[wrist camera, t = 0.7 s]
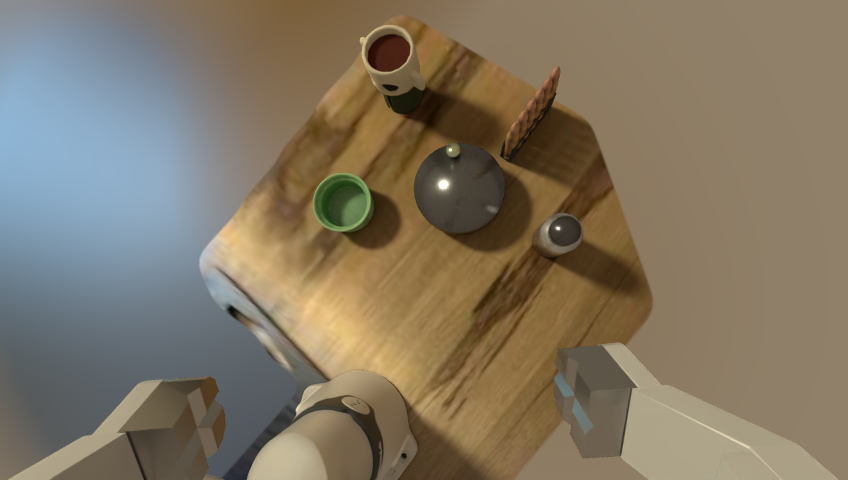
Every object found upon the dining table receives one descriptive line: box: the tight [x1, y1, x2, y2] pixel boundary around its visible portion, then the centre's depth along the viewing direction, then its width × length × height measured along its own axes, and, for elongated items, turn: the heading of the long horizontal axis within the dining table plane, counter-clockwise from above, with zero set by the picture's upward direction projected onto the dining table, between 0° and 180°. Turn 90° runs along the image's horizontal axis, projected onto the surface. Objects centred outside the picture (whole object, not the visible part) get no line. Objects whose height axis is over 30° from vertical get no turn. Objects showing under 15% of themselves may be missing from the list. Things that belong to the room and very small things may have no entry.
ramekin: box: [313, 173, 374, 232], centre depth 62 cm, size 9×9×4 cm
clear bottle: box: [532, 213, 583, 258], centre depth 54 cm, size 5×5×11 cm
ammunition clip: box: [500, 67, 560, 162], centre depth 56 cm, size 11×2×12 cm, turn 143°
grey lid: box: [414, 143, 505, 234], centre depth 59 cm, size 13×13×5 cm
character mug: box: [360, 25, 425, 114], centre depth 59 cm, size 11×7×13 cm, turn 53°
